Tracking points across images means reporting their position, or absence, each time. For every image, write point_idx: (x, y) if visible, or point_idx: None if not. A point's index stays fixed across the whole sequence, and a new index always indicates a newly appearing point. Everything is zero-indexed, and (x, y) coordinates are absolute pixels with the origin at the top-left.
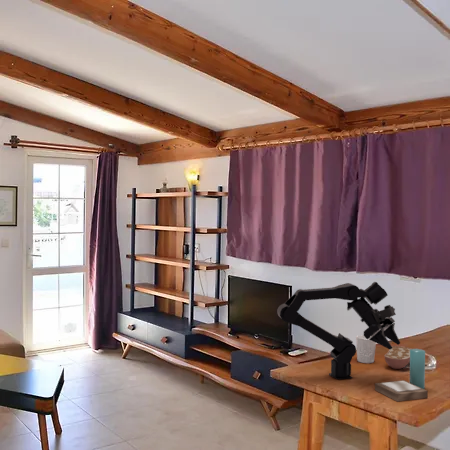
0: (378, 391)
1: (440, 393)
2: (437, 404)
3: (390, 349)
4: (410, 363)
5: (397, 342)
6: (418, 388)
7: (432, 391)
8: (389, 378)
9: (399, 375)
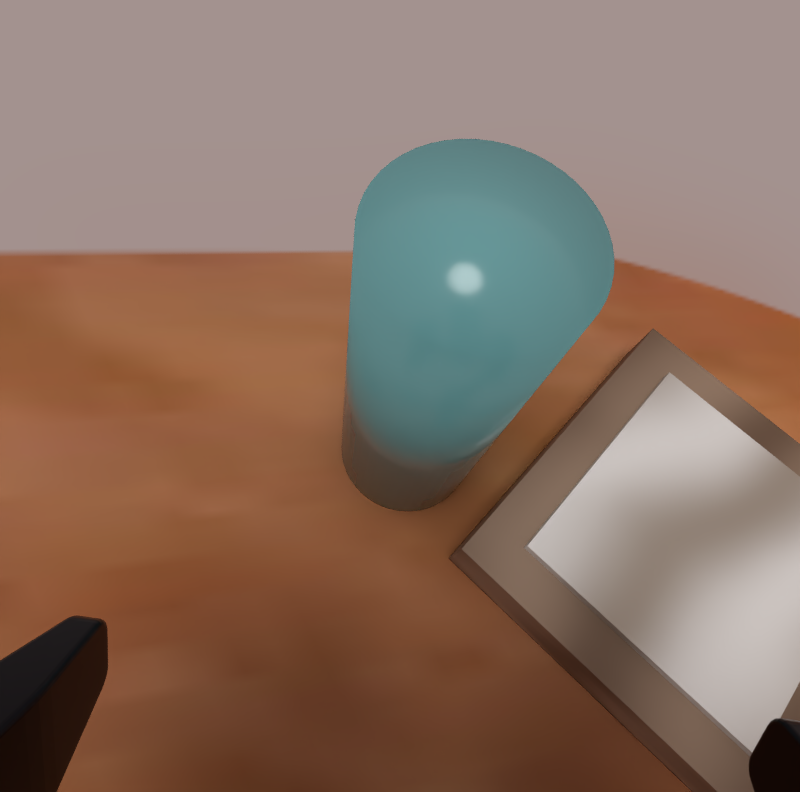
0: None
1: None
2: (718, 292)
3: (772, 762)
4: (497, 427)
5: (75, 704)
6: (675, 390)
7: None
8: (208, 760)
9: None
